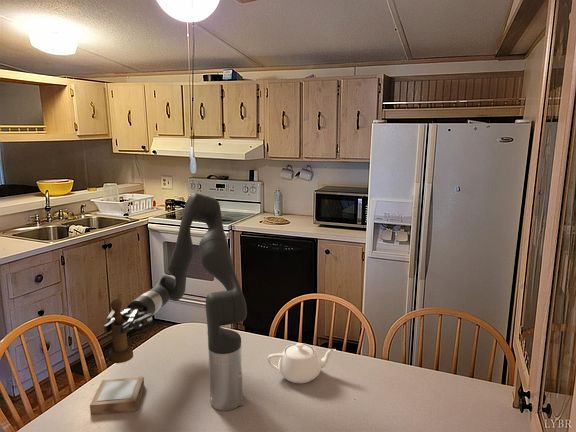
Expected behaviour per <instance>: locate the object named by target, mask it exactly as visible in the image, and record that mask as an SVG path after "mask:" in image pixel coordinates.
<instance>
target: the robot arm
mask: <svg viewBox="0 0 576 432" xmlns="http://www.w3.org/2000/svg"><path fill="white" fill-rule="evenodd" d="M193 221H196V222H199V223H205V224H206V225H207V229H208V230H207V231H206V232H205V233H204V234H203V236H202V238H201V239H200V241H199V245H198V253H199V257H200V260H201V261H200V263H201V265H202V267H203V268H204V270H206V271H207V272H208V274H210V275H211V276H212V277H214V278H215V279H216V280H217V281H219V282H220V283H221V285H222V286H223V287H224V288H225V290H223V291H214V292H209V293H208V294H207V295H206V297H205V314H206V315H205V316H206V324H207V325H206V326H207V343H208V344H207V345H208V371H209V372H208V375H209V376H208V377H209V379H208V380H209V400H210V405H211V407H212V408H213V409H214V410H217V411H218V410H219V411H231V410H234V409H236V408H237V407H241V406H244V402H243V401H244V399H243V397H244V396H243V393H244V392H243V368H242V366H243V365H242V337H241V335H240V333H239V332H237V331H235V330H232V329H227V328H224V327H222V326H228V325H235V324H239V323H242V322H244V321H245V320H246V319H247V314H248V309H247V303H246V298H245V296H244V293H243V289H242V288H241V285H240V282H239V280H238V277H237V274H236V271H235V267H234V264H233V263H234V262H233V259H232V255H231V250H230V247H229V243H228V240H227V237H226V233H225V229H224V224H223V218H222V211H221V205H220V203H219V201H218V200H217V199H216V198H214V197H211V196H208V195H205V194H201V193H197V192H193V193H191V194H190V195H189V197H187V200H186V201H185V205H184V208H183V212H182V218H181V221H180V225H179V229H178V234H177V239H176V243H175V246H174V249H173V252H172V255H171V257H170V259H169V262H168V265H167V271H168V272H169V273H170V274H171V275H173V277H172V276H170V275H167V274H166V275H161V276H159V277H158V279H157V281H156V282H155V284H154V285H153V287H152V288H150V289H149V290H148V291H146V292H144V293H142V294H141V295H139V296H137V297H136V298H135V299H133V300H132V301H131V302H129V303H128V305H127V307H126V308H125V309H122V310H120V313H121V314H122V318H121V320H125V321H126V322H125V323H124V324H122V325H121V326H120V327H119V328H118V332H119V334H123V333H125V332H126V333H127V332H128V331H129V330H132V329H135V330H139V329H141V328H143V327H145V326H147V325H149V324H151V323H153V316H154V315H155V314H156V313H158V311H159V310H160V309H161V308H162V307H164V306H165V305H166V304H167V303H168V302H169V300H171V301H174V302H178V301H180V300H181V299H182V298H183V297H184V296H185V292H186V284H187V276H188V270H189V268H190V266H191V264H192V263H191V262H192V261H193V257H194V246H193V245H194V244H193V240H192V235H191V234H192V233H191V228H192V224H193ZM114 314H115V311H114V310H113V309H112V310H111V311H110V313H109V315H108V316H107V317H106V319H107V321H106V322H107V323H106V324H104V325H103V331H104V334H105V333H106V334H109V333H110V332H112V329H111V323H112V322H113V321H115V319H114V316H113V315H114Z"/></svg>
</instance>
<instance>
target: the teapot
mask: <svg viewBox="0 0 576 432" xmlns="http://www.w3.org/2000/svg"><path fill="white" fill-rule="evenodd" d="M336 350H337V349H336V348H330V349H328V350H327V351H326V353H325V355H324V356H323V357H321V358H320V357H319V355H318V353H317V350H316V349H315V348H314V346H311V345H310V344H307V343H302V342H298V343H292V344H291V343H290V344H288V345H287V346H285V348H284V349H283V351H282V352H280V353H278V352H277V353H270V354H269V355H268V356H267V363H268V364H269V366H270V367H271V368H273V369H274V370H277V371H279V374H280V375H281V376H282V377H283V379H285V380H286V381H288V382H290V383H293V384H305V383H306V384H307V383H309V382H312V381H313V380H315V378H317V377H318V376H319V375H320V373H321V370H322V369H324V368H325V367H326V366H327V364H328V363H329V359H330V356H331V355H332V353H334V352H336ZM273 358H279V361H278V364H277V365H278V366H277V365H275V364H274V363H273V362H272V359H273Z"/></svg>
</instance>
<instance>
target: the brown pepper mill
mask: <svg viewBox="0 0 576 432" xmlns="http://www.w3.org/2000/svg"><path fill="white" fill-rule="evenodd" d="M110 307H111V309H112V310H114V311H115V314H114V315H113V316H114V319H115V321H113V322H112V323H111V329H112V330H111V338H112V348H111V349H109V351H108V360H109V362H110V363H112V364H123V363H126V362H129V361H131V360H132V359H133V358H134V349H133V347H132V346H131V345H129V344H128V336H127V331H126V332H125V333H123V334H119V332H118V328H119V327H120V326H121V325H122V324H124V323H125V322H126V321H125V320H121V318H122V314H121V313H120V312H121V309H122V307H123V302H122V300H121V299H119V298H115V299H113V300H112V301H111V302H110Z"/></svg>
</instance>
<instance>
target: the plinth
mask: <svg viewBox="0 0 576 432" xmlns="http://www.w3.org/2000/svg"><path fill="white" fill-rule="evenodd" d="M144 388H145V378H144V376H139V377H125V378H115V379H113V378H112V379H103V380H101V382H100V384H99V387H98V388H97V390H96V392H95V393H94V396H93V399H92V400H91V403H90V404H89V410H90V411H89V412H90V416H93V415H94V416H95V415H106V414H117V413H119V414H120V413H128V412H129V413H130V412H137V409H138V407H139V403H140V400H141V398H142V394H143V391H144Z"/></svg>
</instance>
